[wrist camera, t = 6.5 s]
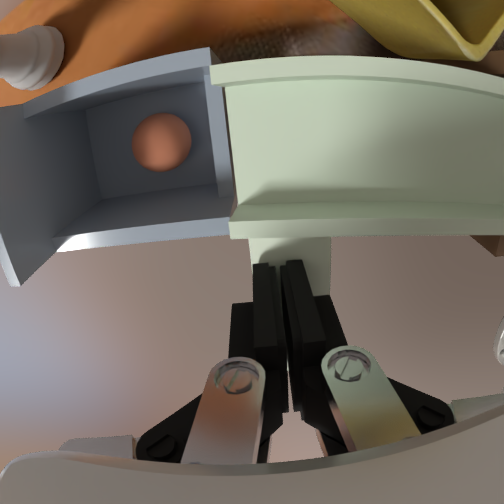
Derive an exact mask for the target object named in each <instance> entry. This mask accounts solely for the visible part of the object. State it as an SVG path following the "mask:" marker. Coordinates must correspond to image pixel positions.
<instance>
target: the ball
mask: <svg viewBox="0 0 504 504" xmlns="http://www.w3.org/2000/svg"><path fill="white" fill-rule="evenodd" d="M190 148H191V134H190V131H189V128H188V126H187V125H186V123H185V122H184V121H183V120H182V119H180V118H179V117H177V116H175V115H173V114H169V113H157V114H153V115H151V116H148V117H147V118H145V119H144V120H143V121H141V122H140V124H139V125H138V126H137V128H136V129H135V131H134V133H133V137H132V151H133V154H134V157H135V158H136V160H137V161H138V162H139V164H140V165H142V166H143V167H144V168H146V169H148V170H150V171H154V172H166V171H170V170H172V169H174V168H176V167H178V166H179V165H180V164H181V163H183V161H184V160H185V159H186V158H187V156H188V154H189V151H190Z"/></svg>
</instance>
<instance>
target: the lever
mask: <svg viewBox="0 0 504 504" xmlns="http://www.w3.org/2000/svg"><path fill="white" fill-rule="evenodd" d="M209 68H210V77H211V85H215V86H221V87H225V93H226V102H227V111H228V120H229V129H230V138H231V147H232V155H233V164H234V173H235V181H236V190H237V198H238V206H237V208H236V210H235V211H234V213H233V215H232V216H231V218H230V220H229V221H228V224H229V231H230V238H231V239H249V247H250V257H251V265H252V264H256V263H267V262H268V263H269V267H270V266H275V268H276V274H277V281H278V288H279V295H280V302H281V309H282V295H281V278H280V266H281V265H286V261H289V260H300V259H302V261H303V264H304V267H305V270H306V274H307V277H308V280H309V283H310V287H311V290H312V293H313V296H319V295H330V275H331V272H330V271H331V237H335V236H336V237H339V236H404V235H405V236H410V235H504V78H501V77H497V76H493V75H489V74H485V73H481V72H477V71H472V70H468V69H463V68H458V67H453V66H447V65H441V64H435V63H428V62H421V61H413V60H405V59H395V58H382V57H366V56H296V57H279V58H267V59H256V60H247V61H239V62H231V63H224V64H218V65H212V66H209ZM252 274H253V269H252ZM282 316H283V313H282ZM287 370H288V362H287ZM288 371H289V370H288Z"/></svg>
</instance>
